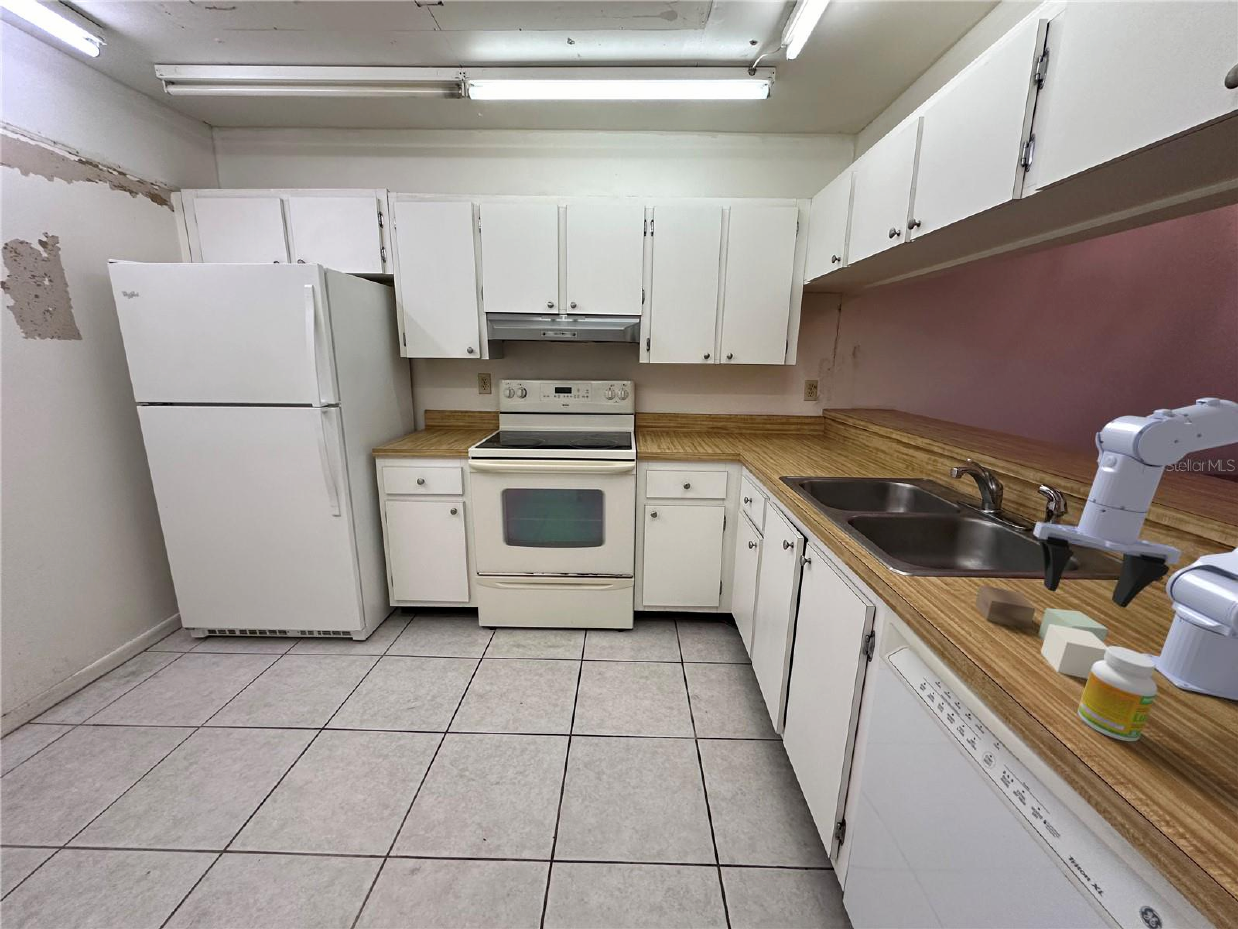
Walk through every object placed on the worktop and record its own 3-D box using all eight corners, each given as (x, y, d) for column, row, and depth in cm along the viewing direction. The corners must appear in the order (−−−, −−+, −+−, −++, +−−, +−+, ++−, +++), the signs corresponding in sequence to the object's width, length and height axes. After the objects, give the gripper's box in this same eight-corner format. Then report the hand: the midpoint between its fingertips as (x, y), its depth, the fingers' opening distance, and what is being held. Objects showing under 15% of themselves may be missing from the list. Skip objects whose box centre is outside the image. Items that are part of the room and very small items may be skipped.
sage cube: (1070, 638, 76) (1079, 611, 75) (1098, 658, 71) (1108, 629, 70) (1037, 635, 76) (1046, 608, 75) (1063, 654, 72) (1072, 625, 70)
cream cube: (1081, 661, 70) (1091, 631, 69) (1101, 682, 66) (1112, 651, 64) (1040, 652, 72) (1049, 623, 71) (1057, 672, 67) (1067, 642, 66)
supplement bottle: (1134, 750, 54) (1162, 677, 51) (1071, 720, 58) (1094, 651, 56) (1142, 730, 57) (1168, 660, 55) (1082, 703, 61) (1103, 637, 59)
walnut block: (1014, 612, 84) (1020, 592, 83) (1029, 630, 78) (1035, 608, 77) (974, 604, 86) (979, 585, 85) (986, 621, 80) (991, 600, 79)
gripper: (1061, 501, 62) (1030, 593, 66) (1212, 526, 57) (1170, 625, 60) (1040, 489, 69) (1013, 573, 72) (1175, 511, 63) (1138, 601, 66)
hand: (1083, 596), depth 66 cm, fingers open, 7 cm apart
